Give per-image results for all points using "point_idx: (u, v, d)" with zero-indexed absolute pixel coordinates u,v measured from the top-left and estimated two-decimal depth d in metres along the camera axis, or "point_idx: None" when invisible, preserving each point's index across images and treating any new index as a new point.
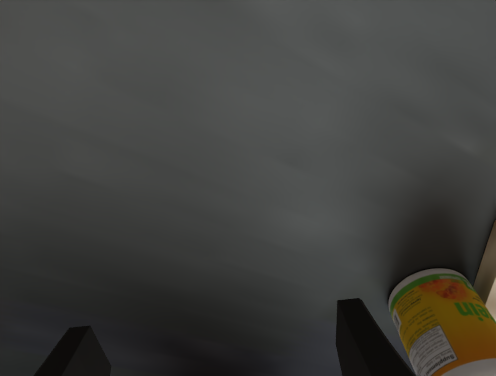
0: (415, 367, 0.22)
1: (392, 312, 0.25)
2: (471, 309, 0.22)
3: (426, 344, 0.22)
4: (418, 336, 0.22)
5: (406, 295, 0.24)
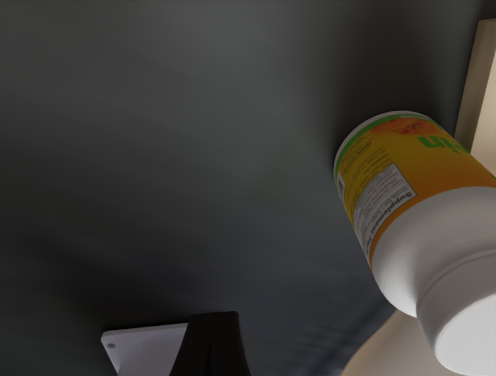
0: (360, 234, 0.15)
1: (336, 180, 0.18)
2: (443, 142, 0.14)
3: (373, 193, 0.14)
4: (364, 188, 0.15)
5: (353, 146, 0.17)
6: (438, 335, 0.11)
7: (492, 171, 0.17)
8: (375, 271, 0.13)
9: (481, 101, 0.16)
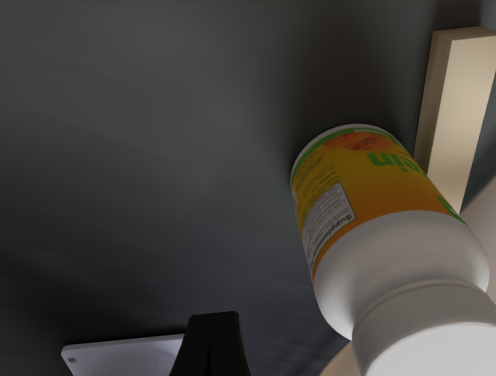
0: (306, 255, 0.14)
1: (291, 194, 0.17)
2: (392, 160, 0.14)
3: (317, 213, 0.13)
4: (311, 206, 0.14)
5: (306, 161, 0.16)
6: (367, 372, 0.10)
7: (452, 186, 0.17)
8: (316, 296, 0.13)
9: (437, 115, 0.15)
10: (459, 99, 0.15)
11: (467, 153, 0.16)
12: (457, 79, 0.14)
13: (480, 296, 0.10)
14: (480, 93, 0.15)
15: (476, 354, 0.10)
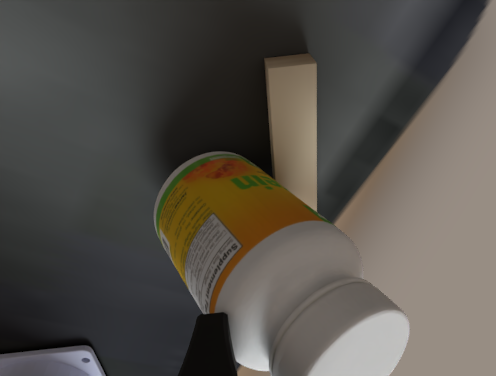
0: (196, 298, 0.13)
1: (160, 238, 0.16)
2: (256, 181, 0.14)
3: (199, 251, 0.13)
4: (189, 245, 0.13)
5: (169, 199, 0.15)
6: None
7: None
8: None
9: (272, 137, 0.16)
10: (288, 122, 0.16)
11: (310, 172, 0.17)
12: (282, 104, 0.15)
13: (369, 287, 0.11)
14: (307, 117, 0.15)
15: (381, 341, 0.10)
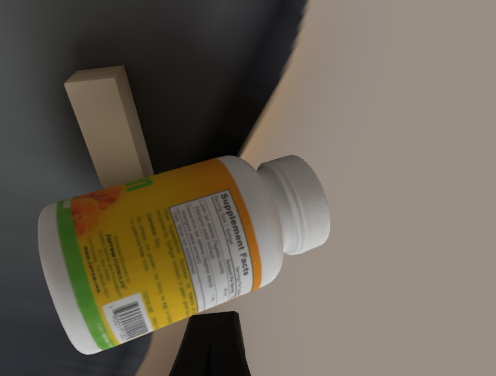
0: (219, 280, 0.13)
1: (103, 322, 0.12)
2: (139, 180, 0.14)
3: (198, 236, 0.12)
4: (180, 249, 0.12)
5: (89, 264, 0.11)
6: (329, 216, 0.15)
7: None
8: (269, 264, 0.14)
9: (90, 153, 0.15)
10: (102, 138, 0.15)
11: None
12: (89, 119, 0.14)
13: None
14: (121, 132, 0.15)
15: None
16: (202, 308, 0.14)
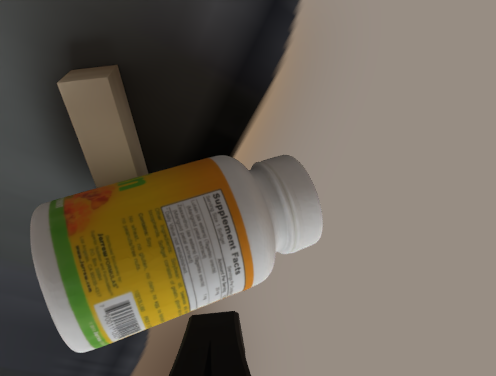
0: (211, 279, 0.13)
1: (95, 321, 0.12)
2: (132, 179, 0.14)
3: (190, 235, 0.12)
4: (172, 249, 0.12)
5: (81, 263, 0.12)
6: (321, 215, 0.15)
7: None
8: (260, 263, 0.14)
9: (84, 152, 0.15)
10: (96, 137, 0.15)
11: None
12: (82, 118, 0.14)
13: None
14: (114, 131, 0.15)
15: None
16: (194, 307, 0.14)
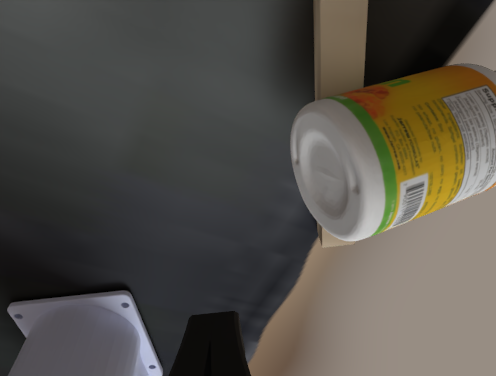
0: (482, 169, 0.14)
1: (396, 199, 0.13)
2: (389, 81, 0.15)
3: (472, 123, 0.13)
4: (459, 135, 0.13)
5: (390, 143, 0.12)
6: None
7: None
8: None
9: (320, 63, 0.16)
10: (338, 46, 0.16)
11: None
12: (332, 26, 0.15)
13: None
14: (357, 40, 0.16)
15: None
16: (452, 201, 0.14)
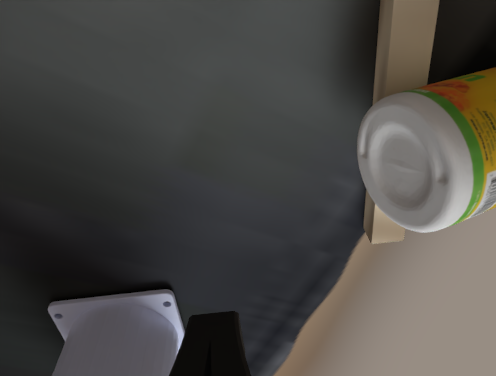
0: None
1: (482, 190, 0.13)
2: (462, 76, 0.15)
3: None
4: None
5: (479, 134, 0.13)
6: None
7: None
8: None
9: (387, 59, 0.16)
10: (406, 42, 0.16)
11: None
12: (403, 22, 0.16)
13: None
14: (425, 36, 0.16)
15: None
16: None
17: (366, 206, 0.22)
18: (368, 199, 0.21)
